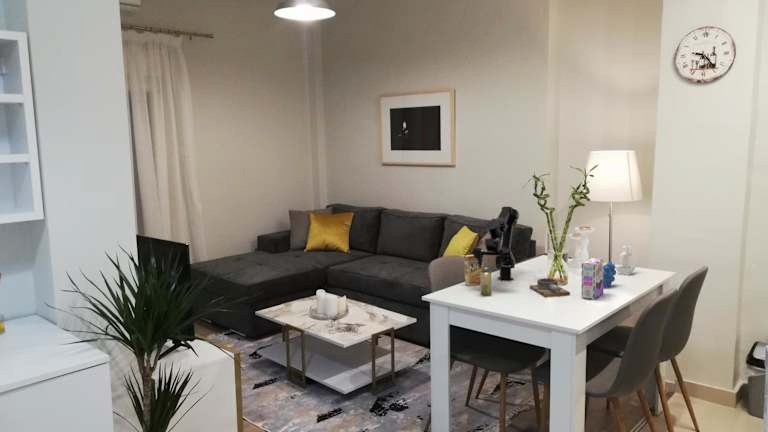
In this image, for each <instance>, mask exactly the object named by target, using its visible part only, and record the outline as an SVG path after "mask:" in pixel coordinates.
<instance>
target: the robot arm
mask: <svg viewBox="0 0 768 432" xmlns="http://www.w3.org/2000/svg"><path fill="white" fill-rule="evenodd" d="M519 219H520V213H519V211H518V210H517V209H515V208H513V207H512V206H501V211H500V213H499V215H498V216H497V218H491V219H490V220H489V221H488V222H487V223H486V224H485V225H486V229H487V232H488V235H489V236H490V237H489V238H485V239H484V246H485V249H486V250H483V249H482V248H481V247H473V248H472V251H471V252H472V255H474V257H475V258H477V260H478V262H479V268H481V265H482V261H483V262H484V256H491V257H492V256H493V257H495V267H496V268H497V270H499V276H497V279H498V278H499V280H500V281H513V280H514V278H513V277H512V272H511V271H512V269H515V264H516V263H515V260H514V258H513V257H514V255H513V252H512V250H511V245H512V238H513V232H514V231H513V230H514V227H515V226H516V225H517V224H518V220H519Z"/></svg>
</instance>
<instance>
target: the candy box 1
mask: <svg viewBox="0 0 768 432" xmlns="http://www.w3.org/2000/svg"><path fill="white" fill-rule="evenodd" d="M463 259H464V285H465V284H466V286H467V285H468V287H470V286H472V287H473V286H481V285H480V284H481V282H480V272H481V271H482V267H484V260H483V261H482V265H481V268H479V262H478V260H477V258H475V257H474V255H473V254H466V255H463Z"/></svg>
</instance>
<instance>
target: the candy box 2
mask: <svg viewBox="0 0 768 432" xmlns="http://www.w3.org/2000/svg"><path fill="white" fill-rule="evenodd" d="M603 266H604V258H598V257H597V258H594V257H593V258H592V257H590V259H587V260H585V261H584V262H581V299H584V300H585V299H586V300H590V301H591V300H596V299H597V298H599V297H601V296H602V295H603V294H604V287H603V270H604V269H603Z"/></svg>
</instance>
